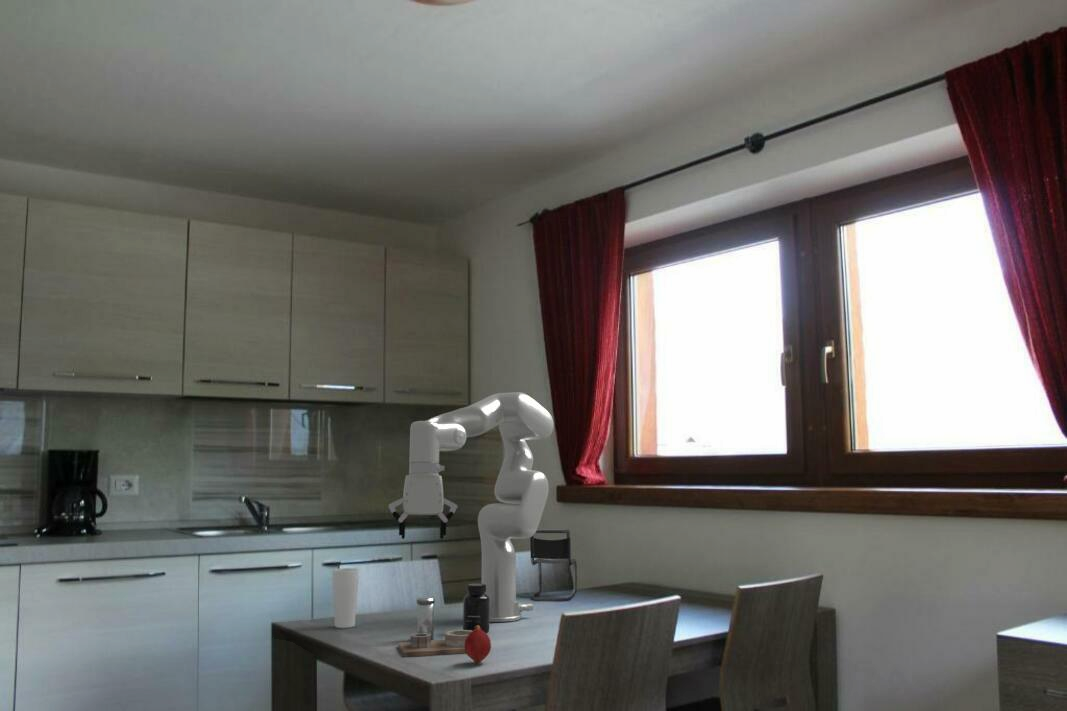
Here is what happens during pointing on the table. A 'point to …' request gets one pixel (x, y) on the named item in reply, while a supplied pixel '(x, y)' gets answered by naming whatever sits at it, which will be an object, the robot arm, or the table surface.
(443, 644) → the fitting board
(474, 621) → the supplement bottle
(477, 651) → the onion
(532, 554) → the chair
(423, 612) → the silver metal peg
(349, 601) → the drinking glass
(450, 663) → the table surface
